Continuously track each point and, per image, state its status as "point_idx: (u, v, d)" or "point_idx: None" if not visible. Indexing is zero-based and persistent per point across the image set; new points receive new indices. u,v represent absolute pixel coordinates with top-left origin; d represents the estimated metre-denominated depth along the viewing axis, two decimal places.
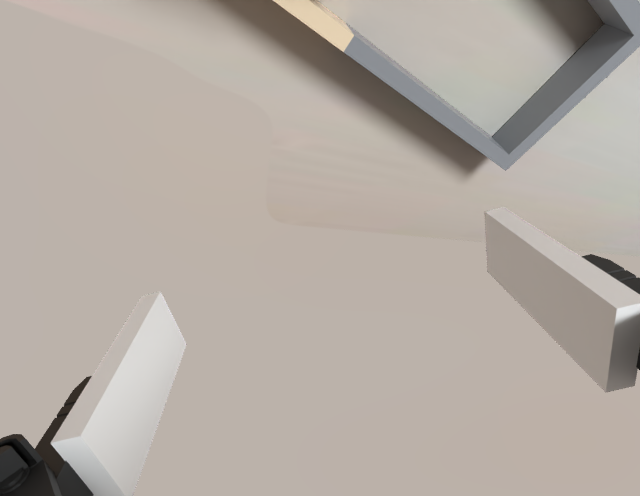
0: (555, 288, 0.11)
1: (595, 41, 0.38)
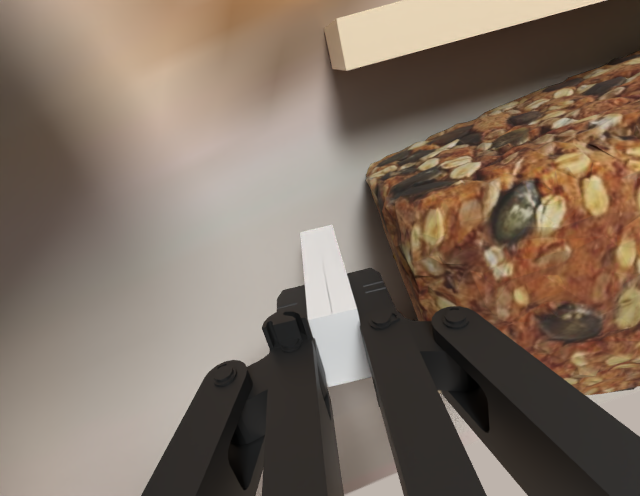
0: None
1: None
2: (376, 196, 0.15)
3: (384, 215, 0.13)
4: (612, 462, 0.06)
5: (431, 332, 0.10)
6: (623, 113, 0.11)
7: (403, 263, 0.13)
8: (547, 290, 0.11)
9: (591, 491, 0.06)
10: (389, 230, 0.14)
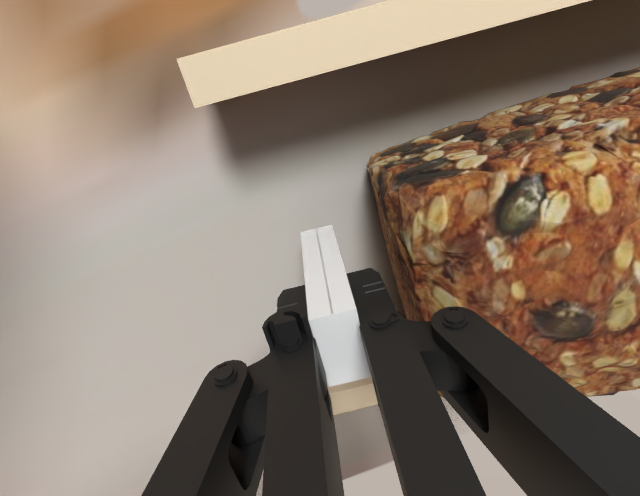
0: None
1: None
2: (378, 184, 0.14)
3: (386, 202, 0.13)
4: (612, 462, 0.06)
5: (430, 332, 0.10)
6: (630, 118, 0.11)
7: (402, 251, 0.13)
8: (543, 286, 0.11)
9: (591, 491, 0.06)
10: (389, 217, 0.13)
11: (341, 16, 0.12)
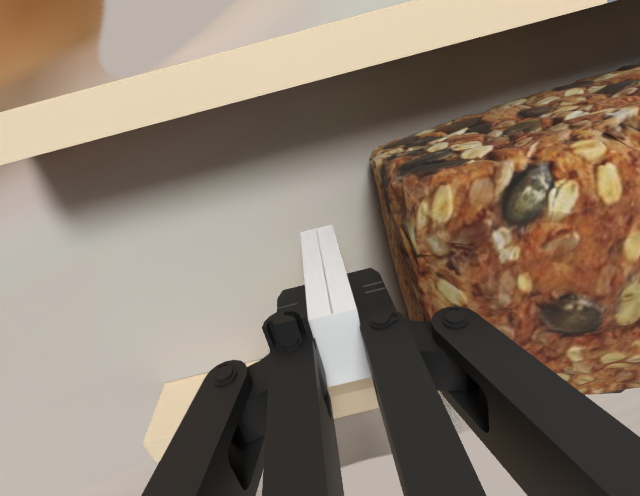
0: None
1: None
2: (381, 176, 0.14)
3: (389, 193, 0.13)
4: (612, 462, 0.06)
5: (431, 332, 0.10)
6: None
7: (405, 243, 0.12)
8: (551, 278, 0.11)
9: (591, 491, 0.06)
10: (392, 209, 0.13)
11: (91, 90, 0.12)
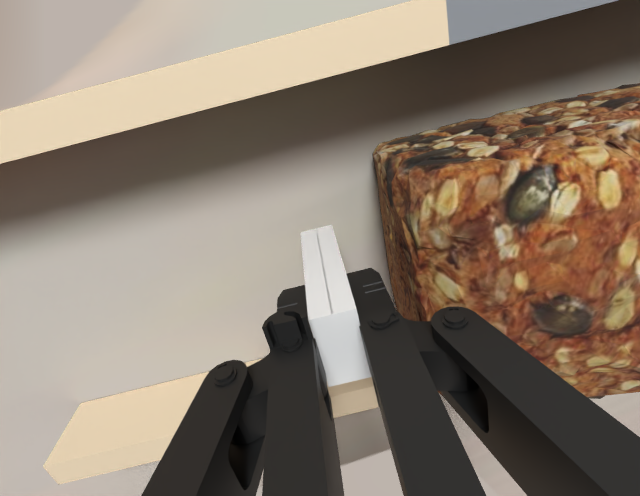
0: None
1: None
2: (385, 169, 0.14)
3: (393, 186, 0.13)
4: (612, 462, 0.06)
5: (431, 332, 0.10)
6: None
7: (406, 235, 0.13)
8: (547, 278, 0.11)
9: (591, 491, 0.06)
10: (395, 202, 0.13)
11: None
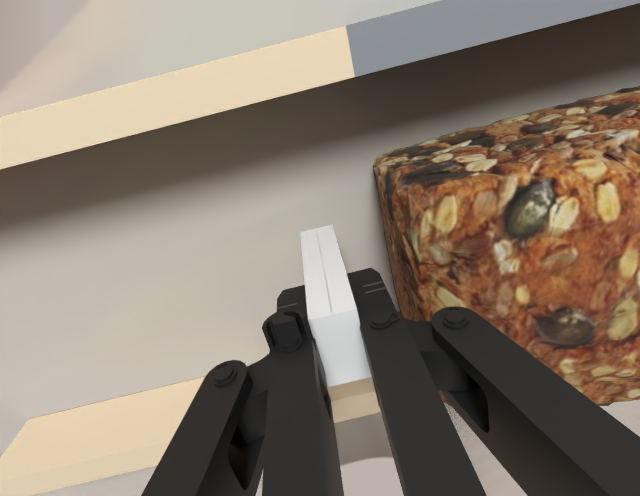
0: None
1: None
2: (385, 183, 0.14)
3: (393, 201, 0.13)
4: (612, 462, 0.06)
5: (431, 332, 0.10)
6: None
7: (407, 250, 0.13)
8: (548, 291, 0.11)
9: (591, 491, 0.06)
10: (396, 217, 0.13)
11: None
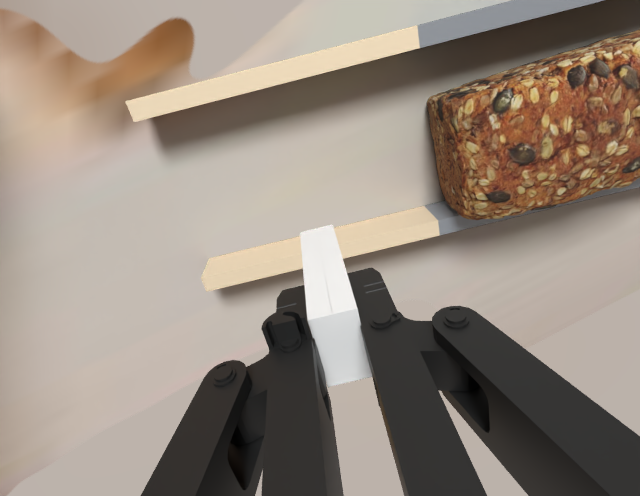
0: None
1: None
2: (437, 105, 0.30)
3: (443, 109, 0.29)
4: (613, 462, 0.06)
5: (432, 332, 0.10)
6: (549, 66, 0.27)
7: (451, 129, 0.28)
8: (513, 136, 0.27)
9: (592, 491, 0.06)
10: (444, 117, 0.29)
11: (194, 84, 0.28)
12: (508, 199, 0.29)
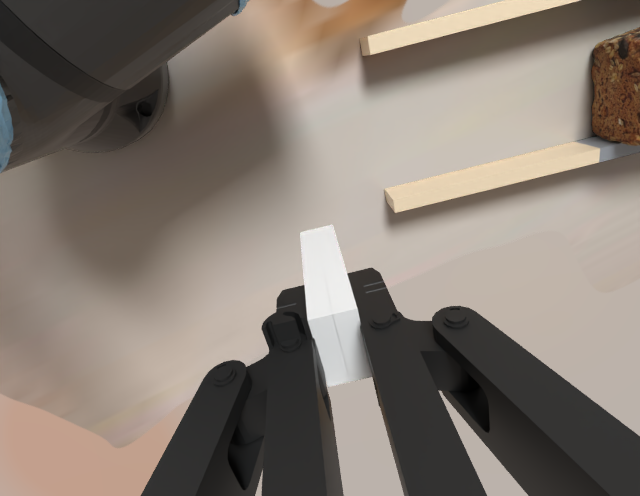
0: None
1: None
2: (618, 45, 0.36)
3: (629, 47, 0.35)
4: (613, 462, 0.06)
5: (432, 332, 0.10)
6: None
7: None
8: None
9: (592, 491, 0.06)
10: (630, 54, 0.35)
11: (426, 21, 0.34)
12: None
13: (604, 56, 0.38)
